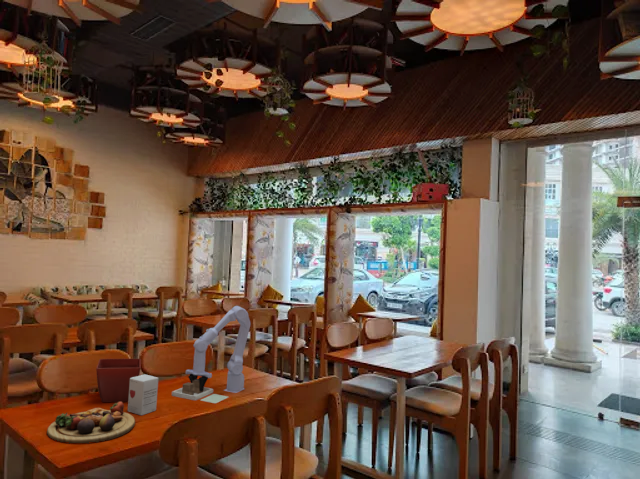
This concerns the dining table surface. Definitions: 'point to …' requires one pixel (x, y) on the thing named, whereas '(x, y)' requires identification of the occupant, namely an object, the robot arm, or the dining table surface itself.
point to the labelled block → (197, 386)
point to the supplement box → (142, 394)
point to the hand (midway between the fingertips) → (197, 389)
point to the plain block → (188, 388)
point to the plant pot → (116, 378)
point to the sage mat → (214, 398)
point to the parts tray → (192, 397)
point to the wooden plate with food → (91, 425)
